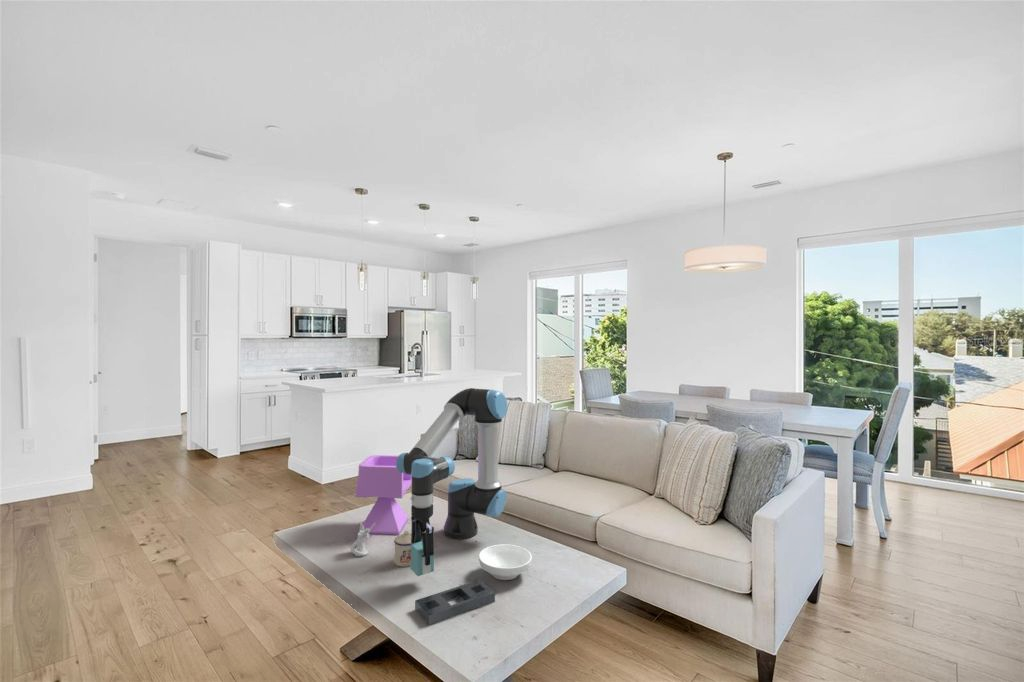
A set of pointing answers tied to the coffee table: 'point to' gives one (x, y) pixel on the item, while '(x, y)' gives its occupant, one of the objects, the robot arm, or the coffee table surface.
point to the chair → (383, 493)
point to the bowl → (505, 560)
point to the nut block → (419, 558)
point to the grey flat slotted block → (440, 609)
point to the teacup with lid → (403, 550)
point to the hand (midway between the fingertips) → (422, 568)
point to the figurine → (361, 541)
